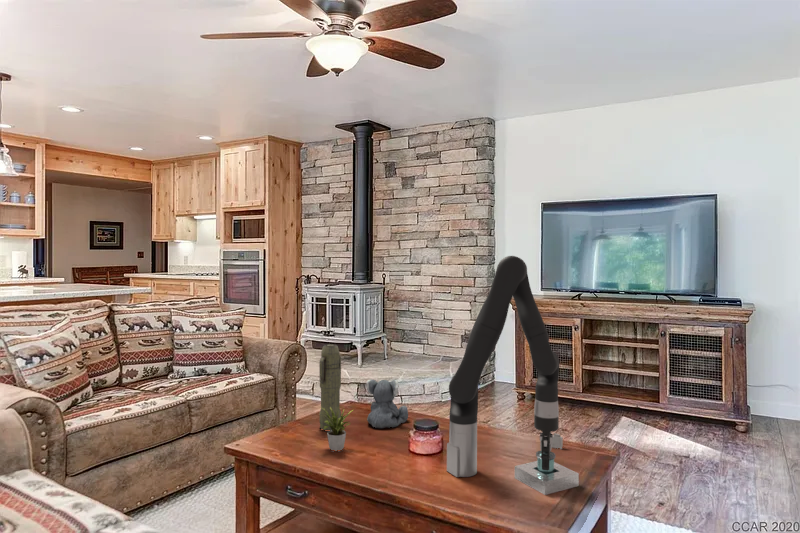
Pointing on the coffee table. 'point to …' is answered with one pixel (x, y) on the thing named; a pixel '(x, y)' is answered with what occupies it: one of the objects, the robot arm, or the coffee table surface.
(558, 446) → the lighter
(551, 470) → the cover plug
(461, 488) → the coffee table surface
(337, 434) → the house plant
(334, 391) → the thermos
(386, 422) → the koala plush
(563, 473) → the bore housing
